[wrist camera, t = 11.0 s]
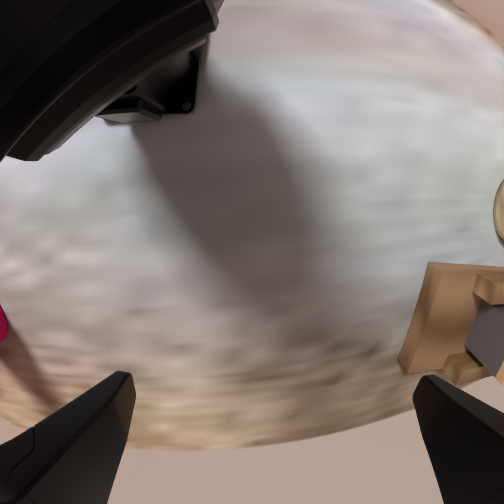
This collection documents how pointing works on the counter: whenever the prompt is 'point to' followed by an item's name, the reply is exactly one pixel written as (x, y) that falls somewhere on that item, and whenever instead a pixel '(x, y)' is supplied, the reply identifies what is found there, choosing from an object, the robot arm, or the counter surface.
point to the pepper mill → (2, 326)
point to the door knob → (499, 211)
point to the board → (450, 320)
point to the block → (489, 338)
